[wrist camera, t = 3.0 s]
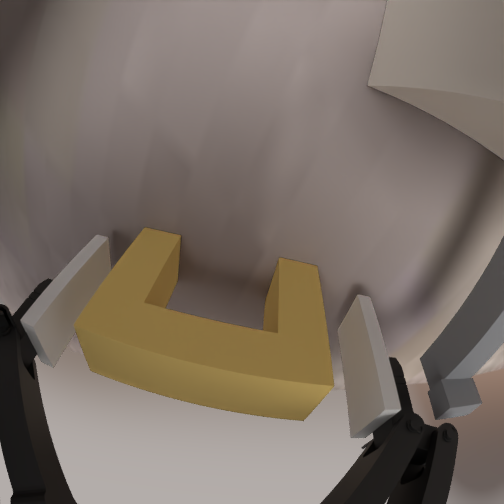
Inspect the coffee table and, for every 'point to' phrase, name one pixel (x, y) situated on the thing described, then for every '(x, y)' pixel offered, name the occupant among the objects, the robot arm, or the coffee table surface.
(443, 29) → the shelf
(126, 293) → the yellow u-shaped block
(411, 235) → the coffee table surface
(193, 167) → the coffee table surface
